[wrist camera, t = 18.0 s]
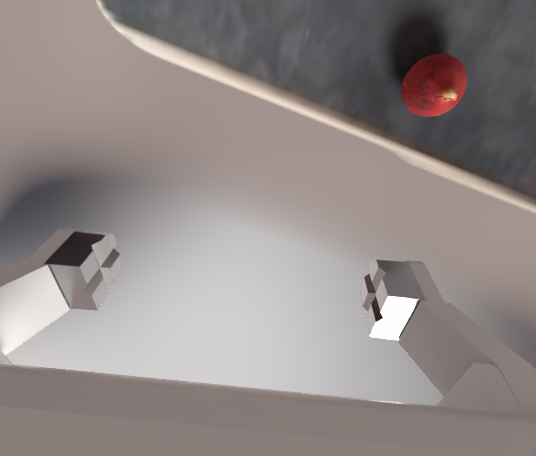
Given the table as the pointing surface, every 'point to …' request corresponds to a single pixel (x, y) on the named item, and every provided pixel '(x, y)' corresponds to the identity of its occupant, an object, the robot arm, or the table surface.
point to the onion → (434, 85)
